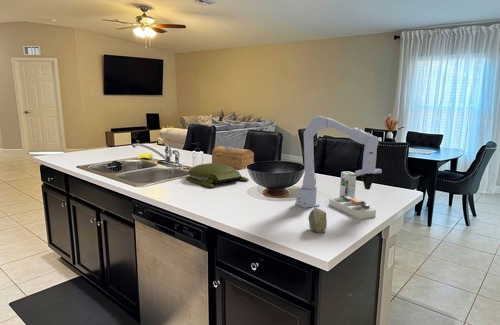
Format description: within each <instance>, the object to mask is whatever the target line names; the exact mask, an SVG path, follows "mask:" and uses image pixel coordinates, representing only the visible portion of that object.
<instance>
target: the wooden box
mask: <svg viewBox="0 0 500 325" xmlns="http://www.w3.org/2000/svg"><path fill="white" fill-rule="evenodd" d="M254 156H255V154H254V152H253V151H252V150H251V149H244V148H238V147H229V146H222V145H220V146H216V147H214V148H213V149H212V151H211V163H217V164H224V165H228V166H231V167H233V168H234V169H235V170H245V169H247V168H246V166H247V165H249V164H251V163H254V159H255V158H254ZM254 164H255V163H254Z"/></svg>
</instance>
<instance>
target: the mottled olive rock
mask: <svg viewBox="0 0 500 325" xmlns="http://www.w3.org/2000/svg"><path fill="white" fill-rule="evenodd" d="M327 222H328V220H327V213H326V211H324V210H323V209H320V208H318V207H316V206H314V207H313V208H312V209H311V211H310V212H309V214H308V223H309V229H310V231H311V230H312V231H313V232H315V233H326V229H327V225H328V224H327Z"/></svg>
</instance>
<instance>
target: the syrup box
mask: <svg viewBox="0 0 500 325" xmlns="http://www.w3.org/2000/svg"><path fill="white" fill-rule="evenodd" d="M356 184H357V175H355V172H352V171H348V170H347V171H346V170H345V171H341V173H340V184H339V186H340V187H339V197H338V198H340V197H342V195H345V194H346V195H348V196H349V197H351V198H355V195H356ZM355 199H356V198H355Z"/></svg>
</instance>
